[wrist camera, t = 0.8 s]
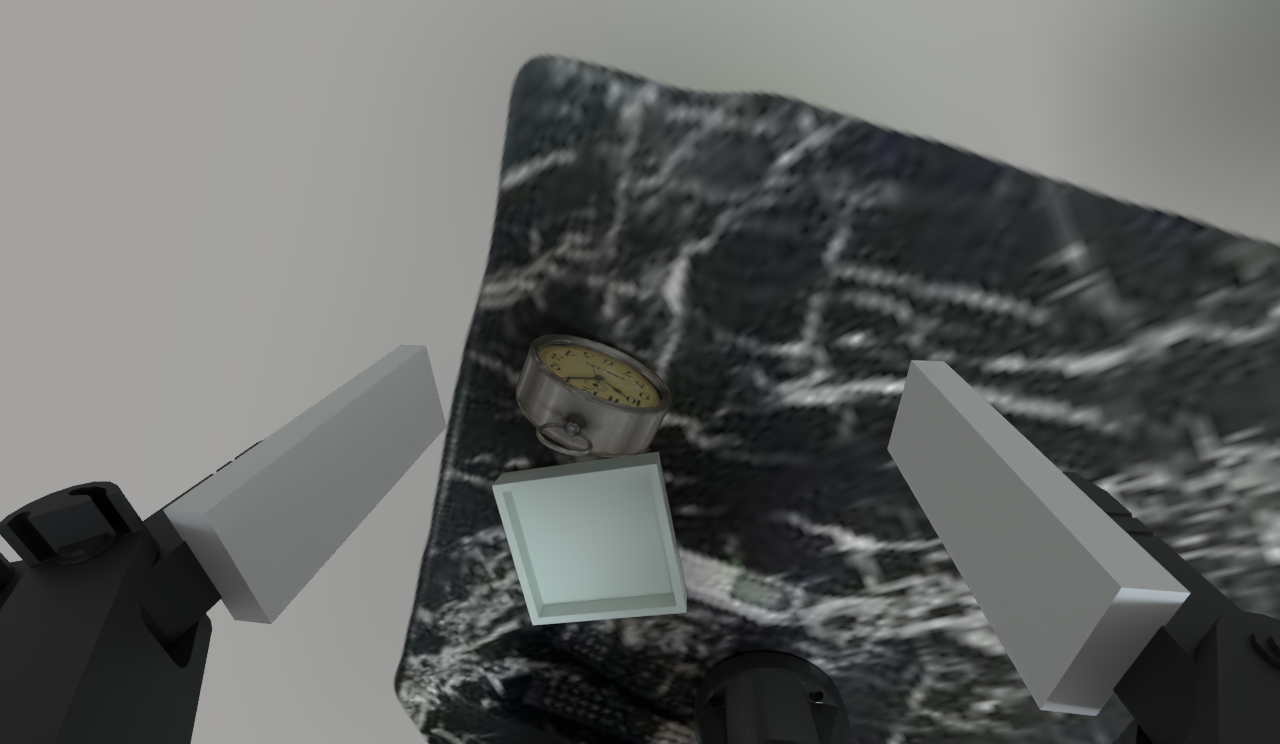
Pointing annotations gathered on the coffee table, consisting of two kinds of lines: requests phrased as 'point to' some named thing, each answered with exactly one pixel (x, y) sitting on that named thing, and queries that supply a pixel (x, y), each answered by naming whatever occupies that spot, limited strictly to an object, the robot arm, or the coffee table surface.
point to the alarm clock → (590, 397)
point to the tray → (593, 539)
